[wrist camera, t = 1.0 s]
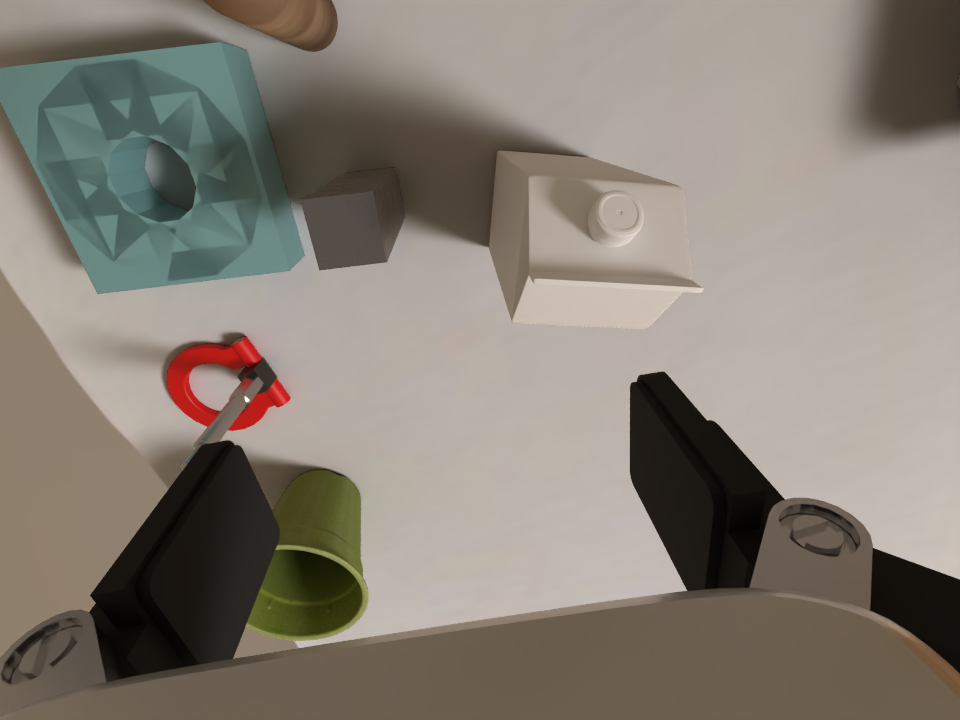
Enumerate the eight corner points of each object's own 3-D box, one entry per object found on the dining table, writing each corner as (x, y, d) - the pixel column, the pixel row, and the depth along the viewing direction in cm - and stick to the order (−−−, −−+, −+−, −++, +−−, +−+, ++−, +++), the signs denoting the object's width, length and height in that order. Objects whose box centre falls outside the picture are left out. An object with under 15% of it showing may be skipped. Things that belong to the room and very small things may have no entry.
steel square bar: (345, 172, 34) (300, 199, 23) (395, 166, 34) (372, 191, 24) (357, 223, 36) (319, 270, 25) (404, 217, 36) (387, 262, 25)
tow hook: (214, 434, 44) (299, 402, 43) (125, 548, 33) (237, 510, 31) (152, 361, 41) (243, 323, 39) (28, 462, 29) (150, 413, 28)
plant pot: (238, 493, 47) (182, 595, 37) (322, 429, 44) (286, 521, 34) (327, 554, 52) (298, 660, 42) (408, 500, 49) (398, 599, 39)
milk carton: (576, 253, 38) (680, 366, 21) (488, 248, 37) (522, 360, 20) (593, 157, 35) (731, 200, 18) (496, 149, 34) (545, 187, 17)
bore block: (37, 74, 30) (-17, 69, 27) (246, 50, 30) (220, 41, 27) (131, 276, 37) (97, 294, 33) (304, 255, 37) (289, 270, 33)
